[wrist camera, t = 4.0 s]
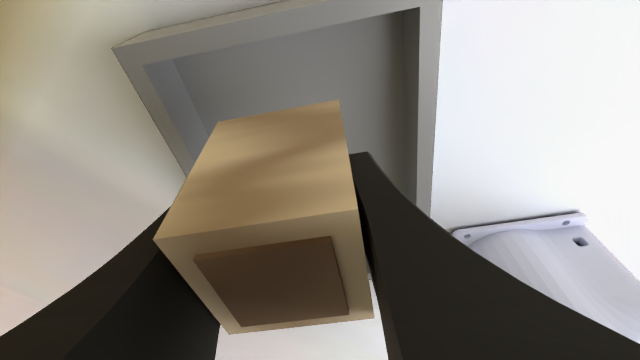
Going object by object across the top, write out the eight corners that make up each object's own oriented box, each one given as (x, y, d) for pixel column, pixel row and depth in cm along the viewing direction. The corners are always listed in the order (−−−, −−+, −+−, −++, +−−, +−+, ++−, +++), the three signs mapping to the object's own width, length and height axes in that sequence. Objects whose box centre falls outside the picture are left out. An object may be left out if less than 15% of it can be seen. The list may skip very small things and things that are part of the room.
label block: (338, 99, 9) (359, 215, 5) (353, 194, 12) (375, 324, 8) (217, 121, 10) (149, 245, 6) (256, 209, 12) (227, 340, 8)
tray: (419, -30, 13) (444, -25, 10) (415, 239, 23) (426, 272, 21) (145, 31, 14) (111, 48, 11) (260, 260, 25) (254, 294, 22)
